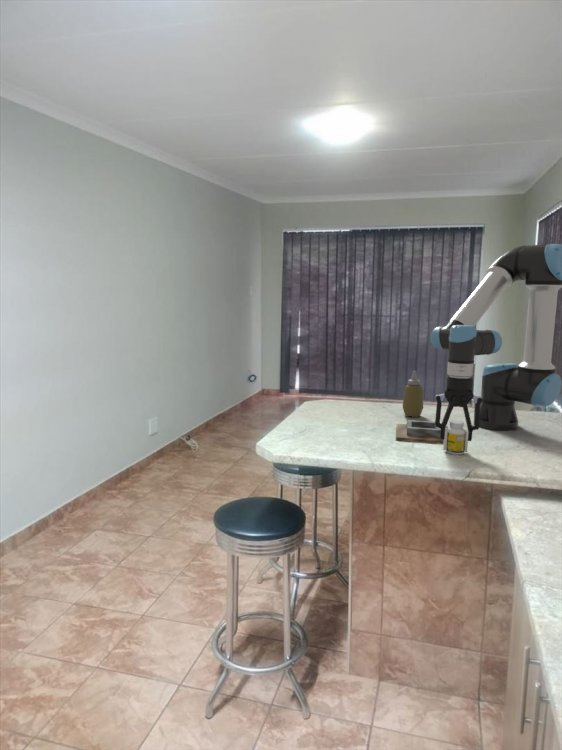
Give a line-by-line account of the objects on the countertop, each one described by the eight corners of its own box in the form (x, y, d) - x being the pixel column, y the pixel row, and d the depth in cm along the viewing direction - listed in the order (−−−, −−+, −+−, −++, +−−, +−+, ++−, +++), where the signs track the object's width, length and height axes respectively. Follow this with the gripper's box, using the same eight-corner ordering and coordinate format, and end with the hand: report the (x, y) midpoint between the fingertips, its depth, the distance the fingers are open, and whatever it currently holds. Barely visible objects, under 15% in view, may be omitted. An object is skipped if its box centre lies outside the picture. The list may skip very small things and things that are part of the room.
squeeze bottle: (425, 418, 208) (427, 372, 204) (404, 418, 208) (406, 372, 205) (420, 413, 215) (422, 369, 212) (400, 413, 216) (402, 369, 213)
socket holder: (447, 429, 192) (448, 420, 191) (452, 444, 174) (452, 433, 174) (396, 426, 196) (396, 417, 195) (395, 440, 178) (396, 429, 178)
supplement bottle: (442, 450, 168) (444, 420, 166) (457, 449, 169) (459, 419, 167) (451, 455, 162) (454, 424, 161) (467, 454, 164) (469, 423, 162)
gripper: (429, 376, 160) (424, 451, 164) (494, 379, 156) (488, 456, 160) (427, 372, 167) (423, 444, 171) (490, 375, 163) (484, 448, 167)
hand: (455, 449), depth 166 cm, fingers closed on supplement bottle, 5 cm apart
